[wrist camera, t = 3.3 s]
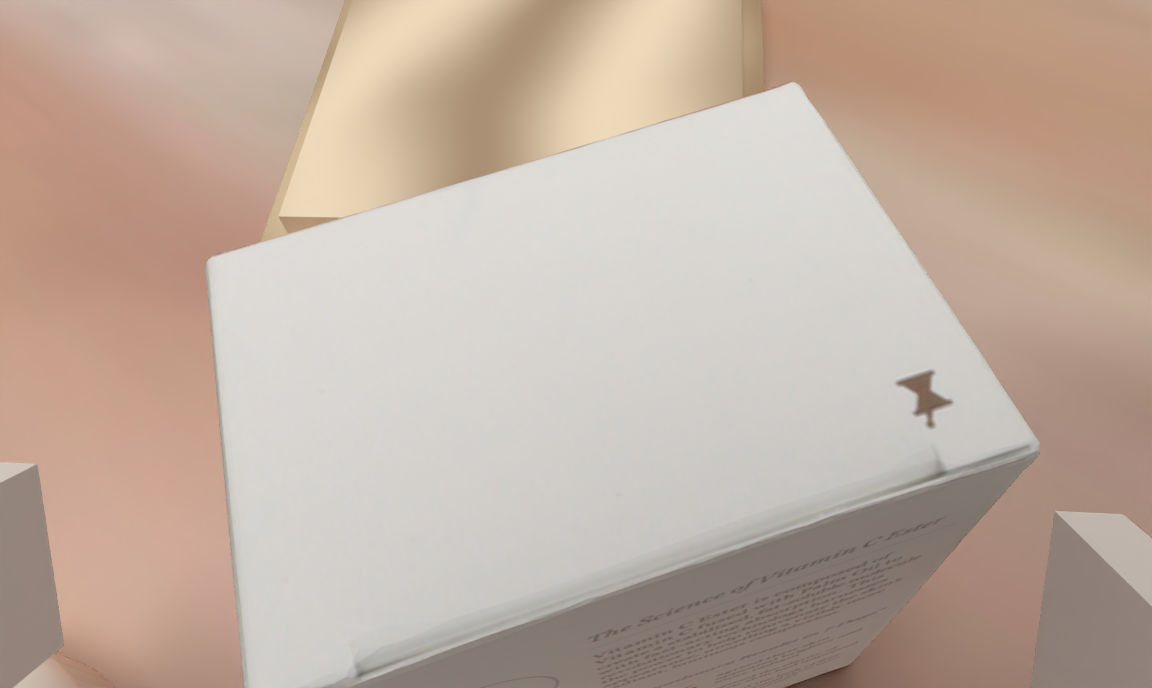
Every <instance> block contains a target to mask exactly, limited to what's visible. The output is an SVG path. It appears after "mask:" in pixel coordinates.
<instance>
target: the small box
mask: <svg viewBox="0 0 1152 688" xmlns="http://www.w3.org/2000/svg"><path fill="white" fill-rule="evenodd" d="M205 271H206V280H207V290H208V302H209V313H210V325H211V336H212V347H213V359H214V370H215V382H216V393H217V403H218V414H219V425H220V436H221V447H222V458H223V469H224V480H225V491H226V502H227V513H228V524H229V535H230V546H231V557H232V567H233V578H234V588H235V598H236V608H237V618H238V628H239V638H240V649H241V659H242V670H243V682H244V688H784V687H787V686H790V685H793V684H795V683H798V682H801V681H804V680H806V679H809V678H812V677H815V676H818V675H820V674H823V673H826V672H829V671H832V670H835V669H839V668H842V667H845V666H848V665H849V664H851V663H852V662H853V661H854V660H855V659H856V658H857V657H858V656H859V655H860V654H861V653H862V652H863V651H864V650H865V648H866V647H867V646H868V645H869V644H871V643H872V642H873V641H874V639H875V638H876V637H877V636H878V635H879V634H880V632H881V631H882V630H883V629H884V628H885V627H886V626H887V624H888V623H889V622H890V621H891V620H892V619H893V618H894V616H895V615H897V614H898V613H899V612H900V610H901V609H902V608H903V607H904V605H905V604H906V603H908V601H909V600H910V599H911V598H912V597H913V596H914V595H915V593H916V592H917V591H918V590H919V589H920V588H921V587H922V585H923V584H924V583H925V581H926V580H927V579H928V578H930V576H931V575H932V574H933V573H934V572H935V571H936V569H937V568H938V567H939V566H940V565H941V564H942V563H943V562H944V560H945V559H946V558H947V557H948V555H949V554H950V553H951V552H952V551H953V550H954V549H955V548H956V547H957V545H958V544H959V543H960V542H961V540H962V539H963V538H964V537H965V536H966V535H967V534H968V532H969V531H970V530H971V529H972V528H973V527H974V526H975V525H976V524H977V522H978V521H979V520H980V519H981V518H982V517H983V516H984V515H985V514H986V512H987V511H988V510H989V509H990V508H991V507H992V506H993V505H994V504H995V502H996V501H997V500H998V499H999V498H1000V497H1001V496H1002V495H1003V494H1004V492H1005V491H1006V490H1007V489H1008V488H1009V487H1010V486H1011V484H1012V483H1013V482H1014V481H1015V480H1016V479H1017V477H1018V476H1019V475H1020V474H1021V473H1022V472H1023V471H1024V470H1025V469H1026V468H1027V467H1028V466H1029V465H1030V464H1031V463H1032V462H1033V461H1034V460H1035V459H1036V458H1037V456H1038V455H1039V454H1040V442H1039V441H1038V439H1037V438H1036V437H1035V435H1034V434H1033V432H1032V431H1031V429H1030V428H1029V426H1028V425H1027V423H1026V422H1025V420H1024V419H1023V417H1022V416H1021V414H1020V413H1019V411H1018V410H1017V408H1016V406H1015V405H1014V403H1013V402H1012V400H1011V399H1010V397H1009V396H1008V394H1007V393H1006V391H1005V390H1004V388H1003V387H1002V386H1001V384H1000V383H999V381H998V380H997V378H996V377H995V375H994V374H993V372H992V370H991V369H990V367H989V366H988V364H987V362H986V361H985V359H984V358H983V356H982V355H981V353H980V351H979V350H978V348H977V347H976V346H975V344H974V343H973V341H972V340H971V338H970V337H969V335H968V334H967V333H966V331H965V330H964V328H963V327H962V325H961V324H960V322H959V321H958V319H957V317H956V316H955V314H954V313H953V311H952V310H951V308H950V307H949V305H948V304H947V302H946V301H945V299H944V298H943V296H942V295H941V293H940V292H939V290H938V289H937V288H936V286H935V285H934V283H933V282H932V280H931V279H930V277H929V276H928V274H927V273H926V271H925V270H924V268H923V267H922V265H921V264H920V262H919V261H918V259H917V258H916V256H915V255H914V253H913V252H912V250H911V249H910V247H909V246H908V244H907V243H906V241H905V240H904V238H903V237H902V236H901V234H900V233H899V231H898V230H897V228H896V227H895V225H894V224H893V222H892V221H891V219H890V218H889V216H888V215H887V213H886V212H885V211H884V209H883V208H882V206H881V205H880V203H879V202H878V200H877V199H876V197H875V196H874V194H873V193H872V191H871V189H870V188H869V186H868V185H867V183H866V182H865V180H864V179H863V177H862V176H861V174H860V173H859V171H858V170H857V168H856V167H855V165H854V164H853V162H852V161H851V159H850V158H849V156H848V155H847V153H846V152H845V150H844V149H843V147H842V146H841V144H840V143H839V142H838V140H837V139H836V137H835V136H834V135H833V133H832V132H831V130H830V129H829V127H828V126H827V124H826V123H825V121H824V120H823V118H822V117H821V116H820V114H819V113H818V112H817V110H816V109H815V108H814V106H813V105H812V104H811V102H810V101H809V100H808V98H807V96H806V95H805V93H804V91H803V89H802V88H801V86H800V85H799V84H797V83H794V82H789V83H786V84H783V85H780V86H777V87H774V88H771V89H768V90H765V91H762V92H758V93H755V94H752V95H748V96H745V97H742V98H739V99H735V100H732V101H729V102H725V103H722V104H719V105H715V106H712V107H709V108H705V109H702V110H699V111H696V112H692V113H689V114H686V115H682V116H679V117H675V118H672V119H669V120H665V121H662V122H659V123H656V124H653V125H650V126H646V127H643V128H639V129H636V130H633V131H629V132H626V133H623V134H620V135H617V136H613V137H610V138H607V139H604V140H600V141H597V142H593V143H590V144H586V145H583V146H580V147H576V148H573V149H570V150H566V151H563V152H560V153H556V154H553V155H550V156H547V157H543V158H540V159H537V160H533V161H530V162H527V163H524V164H520V165H517V166H514V167H510V168H507V169H503V170H500V171H496V172H493V173H489V174H486V175H483V176H479V177H476V178H473V179H470V180H467V181H464V182H460V183H457V184H454V185H451V186H447V187H443V188H439V189H436V190H433V191H429V192H426V193H423V194H419V195H416V196H413V197H409V198H406V199H403V200H400V201H396V202H393V203H390V204H387V205H383V206H380V207H376V208H373V209H370V210H366V211H363V212H359V213H356V214H353V215H349V216H346V217H342V218H339V219H336V220H332V221H329V222H326V223H323V224H319V225H316V226H313V227H310V228H306V229H303V230H300V231H296V232H293V233H289V234H286V235H283V236H279V237H276V238H272V239H269V240H265V241H262V242H258V243H255V244H252V245H248V246H245V247H241V248H238V249H234V250H231V251H227V252H223V253H218V254H216V255H214V256H212V257H210V258H209V260H208V261H207V264H206V268H205Z"/></svg>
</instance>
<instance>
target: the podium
mask: <svg viewBox="0 0 1152 688" xmlns="http://www.w3.org/2000/svg"><path fill="white" fill-rule="evenodd" d="M762 91H764V62H763V28H762V0H345V2H344V5H343V8H342V11H341V14H340V17H339V19H338V22H337V25H336V28H335V31H334V34H333V37H332V39H331V42H330V45H329V48H328V51H327V54H326V57H325V59H324V62H323V65H322V68H321V71H320V74H319V76H318V79H317V82H316V85H315V88H314V91H313V94H312V96H311V99H310V102H309V105H308V108H307V111H306V114H305V116H304V119H303V122H302V125H301V128H300V131H299V133H298V136H297V139H296V142H295V145H294V148H293V151H292V153H291V156H290V159H289V162H288V165H287V168H286V171H285V173H284V176H283V179H282V182H281V185H280V188H279V191H278V193H277V196H276V199H275V202H274V205H273V208H272V210H271V213H270V216H269V219H268V222H267V225H266V228H265V230H264V233H263V236H262V239H261V242H262V241H265V240H269V239H272V238H276V237H279V236H283V235H286V234H289V233H293V232H296V231H300V230H303V229H306V228H310V227H313V226H316V225H319V224H323V223H326V222H329V221H332V220H336V219H339V218H342V217H346V216H349V215H353V214H356V213H359V212H363V211H366V210H370V209H373V208H376V207H380V206H383V205H387V204H390V203H393V202H396V201H400V200H403V199H406V198H409V197H413V196H416V195H419V194H423V193H426V192H429V191H433V190H436V189H439V188H443V187H447V186H451V185H454V184H457V183H460V182H464V181H467V180H470V179H473V178H476V177H479V176H483V175H486V174H489V173H493V172H496V171H500V170H503V169H507V168H510V167H514V166H517V165H520V164H524V163H527V162H530V161H533V160H537V159H540V158H543V157H547V156H550V155H553V154H556V153H560V152H563V151H566V150H570V149H573V148H576V147H580V146H583V145H586V144H590V143H593V142H597V141H600V140H604V139H607V138H610V137H613V136H617V135H620V134H623V133H626V132H629V131H633V130H636V129H639V128H643V127H646V126H650V125H653V124H656V123H659V122H662V121H665V120H669V119H672V118H675V117H679V116H682V115H686V114H689V113H692V112H696V111H699V110H702V109H705V108H709V107H712V106H715V105H719V104H722V103H725V102H729V101H732V100H735V99H739V98H742V97H745V96H748V95H752V94H755V93H758V92H762Z"/></svg>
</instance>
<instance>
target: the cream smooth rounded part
mask: <svg viewBox="0 0 1152 688" xmlns="http://www.w3.org/2000/svg"><path fill="white" fill-rule="evenodd" d="M13 688H115V687H114V686H113V685H112V684H111V683H110V682H109V681H108V680H107V679H106V678H104V677H103V676H102V675H101V674H100V673H98V672H97V671H95V670H93V669H91V668H90V667H88V666H86V665H84V664H82V663H79V662H77V661H74V660H71V659H69V658H66V657H64V656H61V655H58V654H56V653H54V654H53V655H52V656H51V657H50V658H48V659H47V660H46V661H45V662H44V663H42V664H41V665H40V666H39V667H37V668H36V669H35V670H34V671H33V672H31V673H30V674H29V675H28V676H27V677H25V678H24V679H23V680H22V681H21V682H19V683H18V684H17V685H16V686H14V687H13Z"/></svg>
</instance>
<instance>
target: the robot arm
mask: <svg viewBox="0 0 1152 688" xmlns="http://www.w3.org/2000/svg"><path fill="white" fill-rule="evenodd" d="M63 646H64V640H63V634H62V627H61V620H60V613H59V607H58V600H57V593H56V586H55V580H54V573H53V566H52V559H51V553H50V546H49V539H48V532H47V526H46V519H45V512H44V505H43V499H42V492H41V485H40V479H39V472H38V465H37V464H27V463H5V462H0V688H13V687H14V686H16V685H17V684H18V683H19V682H21V681H22V680H23V679H24V678H25V677H27V676H28V675H29V674H30V673H31V672H33V671H34V670H35V669H36V668H37V667H39V666H40V665H41V664H42V663H44V662H45V661H46V660H47V659H48V658H50V657H51V656H52V655H53V654H54V653H56V652H57V651H58V650H59V649H60V648H62V647H63ZM1030 688H1152V538H1151V537H1149V536H1148V535H1147V534H1146V533H1145V532H1144V531H1142V530H1141V529H1140V528H1139V527H1138V526H1136V525H1135V524H1134V523H1133V522H1132V521H1130V520H1129V519H1128V518H1127V517H1126V516H1125V515H1123V514H1109V513H1088V512H1066V511H1055V513H1054V521H1053V528H1052V535H1051V542H1050V550H1049V557H1048V564H1047V571H1046V579H1045V586H1044V593H1043V600H1042V608H1041V615H1040V622H1039V629H1038V636H1037V644H1036V651H1035V658H1034V665H1033V673H1032V680H1031V687H1030Z"/></svg>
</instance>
